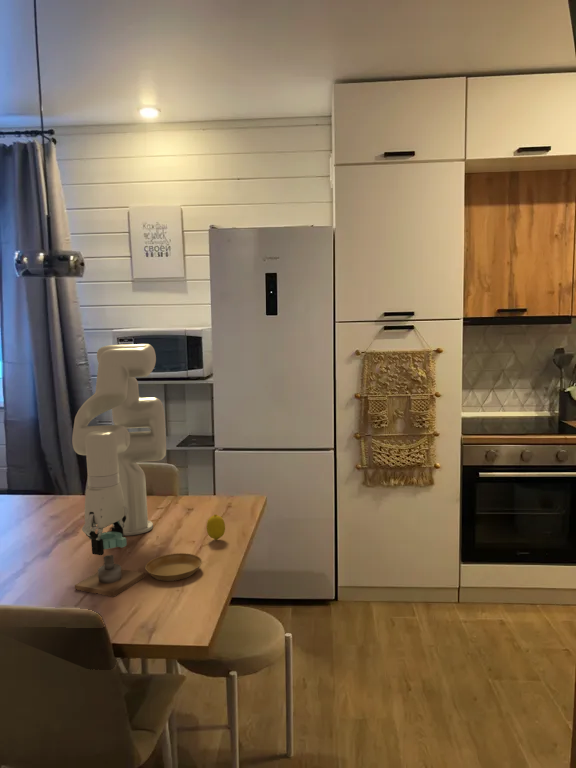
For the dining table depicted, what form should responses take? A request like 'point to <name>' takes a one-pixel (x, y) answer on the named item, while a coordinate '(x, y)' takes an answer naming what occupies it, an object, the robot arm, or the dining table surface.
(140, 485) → the robot arm
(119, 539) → the ring
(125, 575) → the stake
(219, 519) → the lemon
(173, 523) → the dining table surface
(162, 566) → the plant saucer
